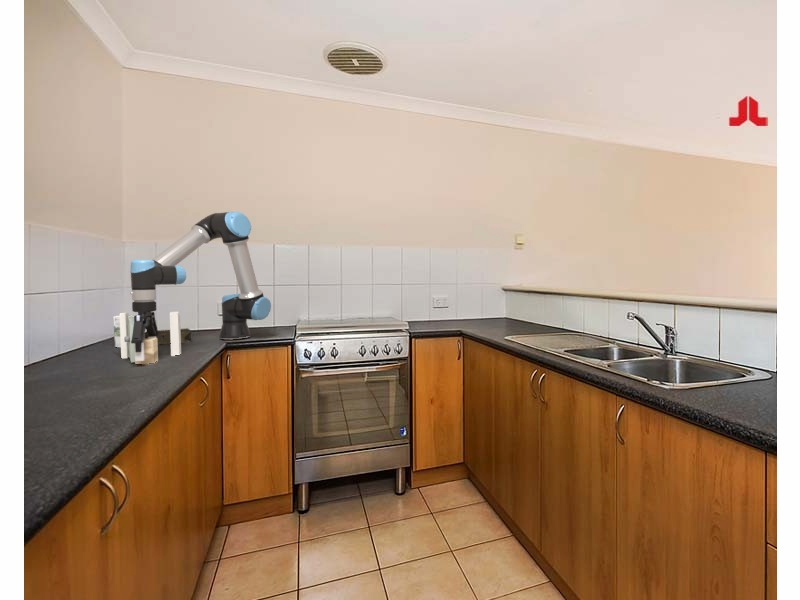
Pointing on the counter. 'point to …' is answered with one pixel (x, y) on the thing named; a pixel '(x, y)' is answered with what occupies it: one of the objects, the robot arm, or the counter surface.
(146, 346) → the tan rectangular block
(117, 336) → the syrup box
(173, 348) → the white piece
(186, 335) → the beverage carton
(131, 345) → the door
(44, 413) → the counter surface
